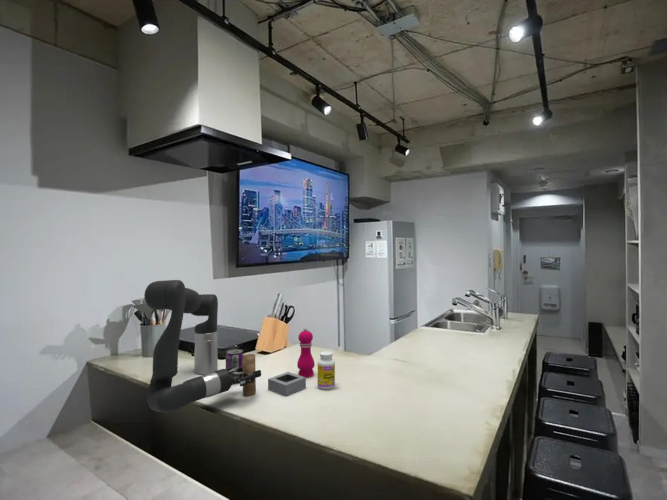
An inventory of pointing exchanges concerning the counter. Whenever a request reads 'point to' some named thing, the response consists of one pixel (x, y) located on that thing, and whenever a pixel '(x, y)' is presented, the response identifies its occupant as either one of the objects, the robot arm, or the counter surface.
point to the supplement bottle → (326, 371)
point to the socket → (286, 383)
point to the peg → (248, 368)
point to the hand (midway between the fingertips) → (253, 370)
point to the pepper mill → (305, 354)
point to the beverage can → (234, 358)
